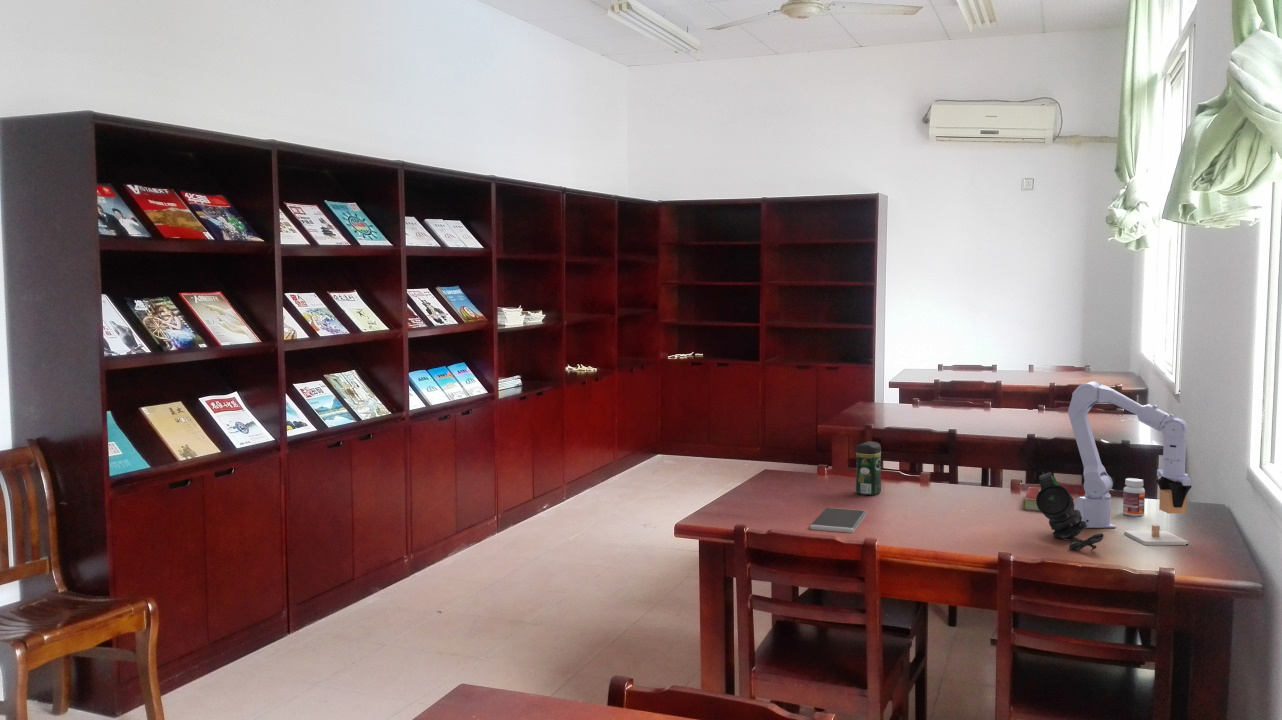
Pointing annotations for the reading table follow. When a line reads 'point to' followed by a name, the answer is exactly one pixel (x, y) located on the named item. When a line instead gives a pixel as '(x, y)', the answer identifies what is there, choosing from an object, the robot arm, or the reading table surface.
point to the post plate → (1155, 537)
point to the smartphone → (838, 520)
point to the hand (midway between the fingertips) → (1172, 505)
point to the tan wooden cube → (1169, 503)
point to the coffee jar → (868, 468)
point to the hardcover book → (1031, 498)
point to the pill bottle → (1133, 497)
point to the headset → (1062, 513)
